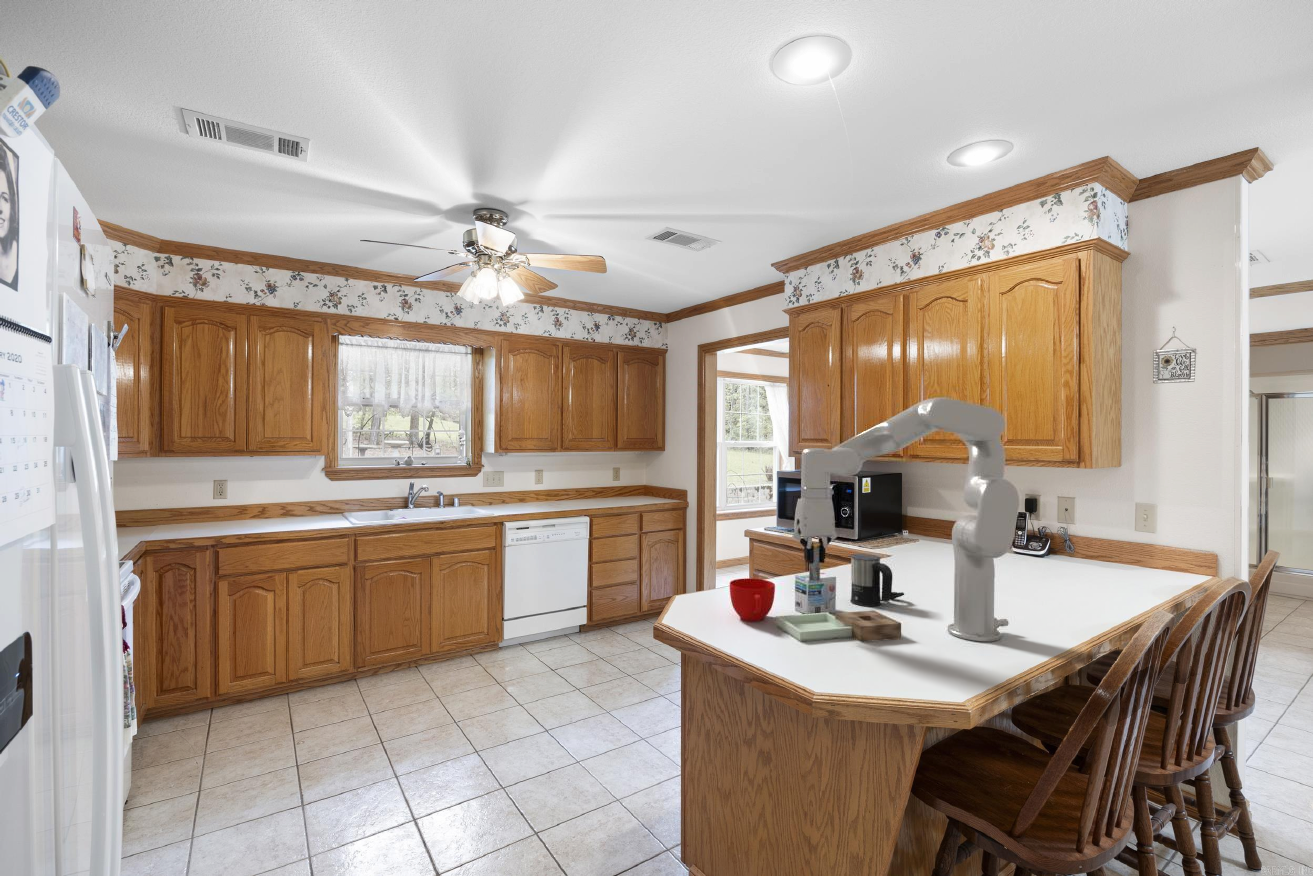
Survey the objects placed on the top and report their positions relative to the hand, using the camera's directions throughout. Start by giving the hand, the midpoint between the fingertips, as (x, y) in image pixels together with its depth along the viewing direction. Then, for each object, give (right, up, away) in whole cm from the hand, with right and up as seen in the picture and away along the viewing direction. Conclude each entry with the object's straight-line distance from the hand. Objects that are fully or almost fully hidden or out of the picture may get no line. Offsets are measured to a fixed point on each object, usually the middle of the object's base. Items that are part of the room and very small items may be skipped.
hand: (814, 561), depth 167 cm
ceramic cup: (-15, -19, +9) cm, 26 cm away
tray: (0, -19, 0) cm, 19 cm away
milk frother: (+27, -19, +30) cm, 45 cm away
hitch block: (+14, -19, -1) cm, 23 cm away
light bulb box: (+5, -19, +19) cm, 27 cm away
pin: (0, -5, 0) cm, 5 cm away
